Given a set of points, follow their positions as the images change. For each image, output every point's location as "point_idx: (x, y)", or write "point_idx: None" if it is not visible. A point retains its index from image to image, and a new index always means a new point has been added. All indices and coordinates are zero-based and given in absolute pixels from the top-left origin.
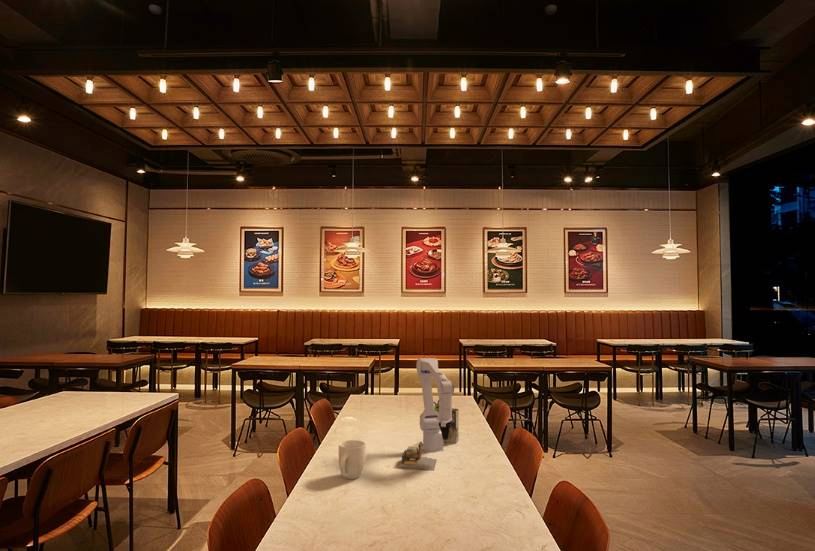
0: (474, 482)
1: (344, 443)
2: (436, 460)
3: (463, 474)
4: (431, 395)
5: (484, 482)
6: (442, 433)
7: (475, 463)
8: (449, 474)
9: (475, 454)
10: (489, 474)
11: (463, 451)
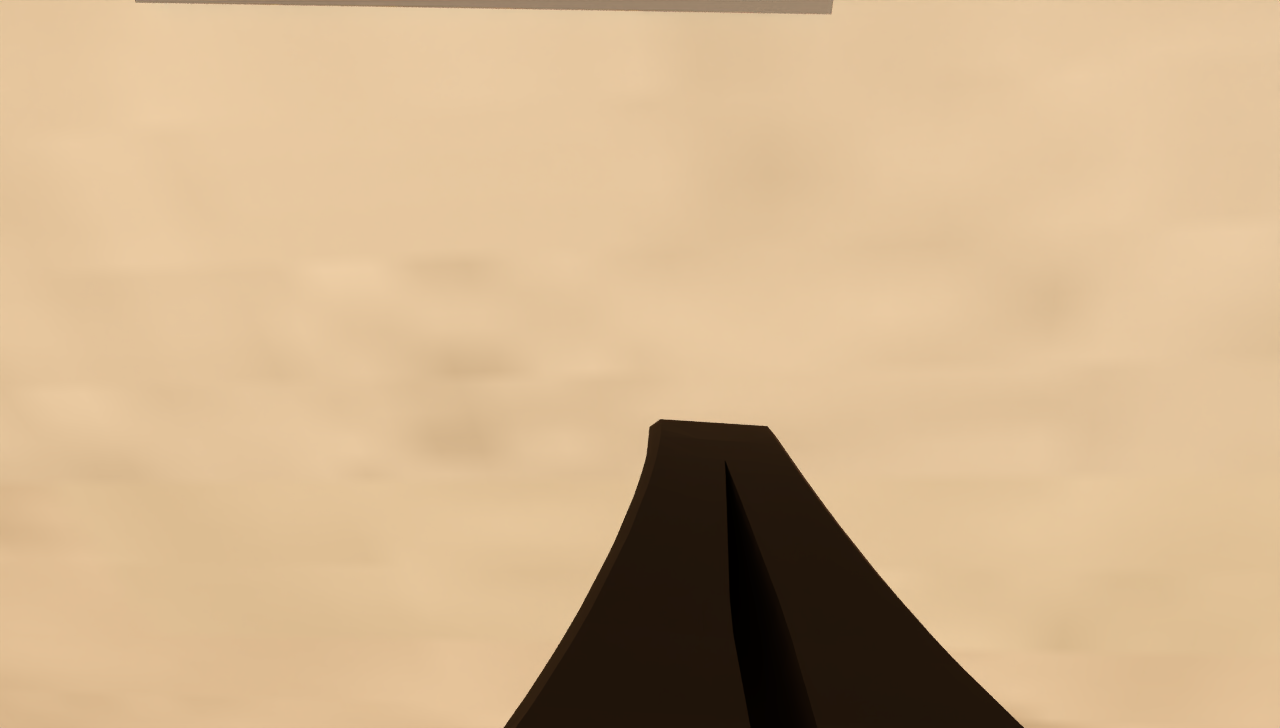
0: (30, 586)
1: None
2: (747, 11)
3: (236, 476)
4: None
5: (96, 668)
6: (616, 588)
7: None
8: (134, 294)
9: (1096, 609)
10: (368, 712)
11: (1277, 469)
